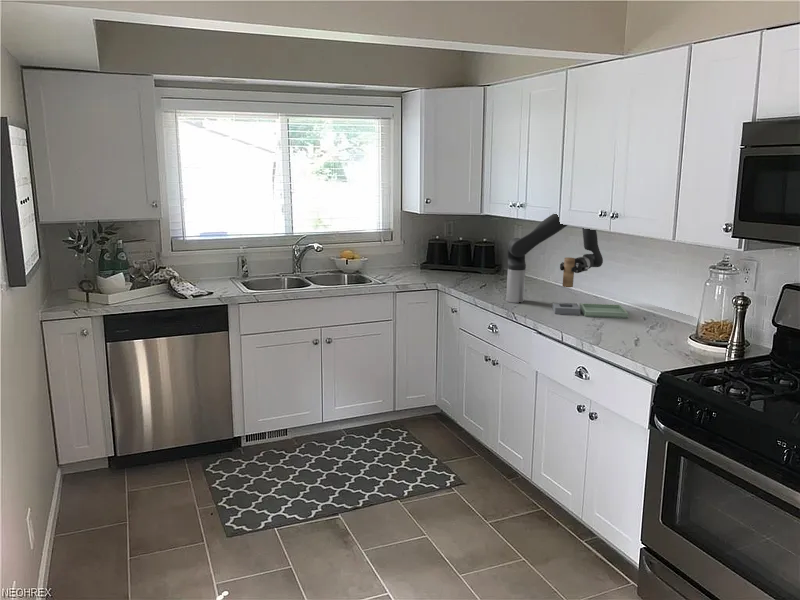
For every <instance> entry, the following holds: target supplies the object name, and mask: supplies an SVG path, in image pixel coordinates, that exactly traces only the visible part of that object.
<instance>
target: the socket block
mask: <svg viewBox="0 0 800 600" xmlns="http://www.w3.org/2000/svg"><path fill="white" fill-rule="evenodd" d="M551 308H552V311H553V313H554V315H571V316H572V315H573V316H574V315H575V316H576V315H577V316H580V315H581V309H580V305H579V304H578V303H575V302H573V303H572V302H552V307H551Z"/></svg>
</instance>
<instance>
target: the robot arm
mask: <svg viewBox="0 0 800 600" xmlns="http://www.w3.org/2000/svg"><path fill="white" fill-rule="evenodd" d="M567 226H568V225H563V224H560V222H559V217H558V215H557V214H554V213H552V214H551V215H550V216H547V217H546V218H545V219H544V220H542V221H541V222H540V223H539V224H538V225H537V226H536V227H535V228H534V229H532V231H531V232H529V233H528V234H526V235H525V236H523V237H521V238H519V237H514V238H512V239H510V241H509V242H508V244H507V245H508V246H507V255H506V256H507V258H506V259H507V262H506V263H507V277H506V296H505V297H506V298H505V300H506V302H508V303H514V304H515V303H516V304H517V303H519V302H521V303H524V302H523V301H525V288H526V287H525V285H526V268H527V265H526V255H527V254H528V253H529V252H531V251H532V250H533V249H534V248H535V247H537V246H538V245H539V244H541V243H543V242H544V241H546V240H548V239H550V238H551V237H553V236H555V234H557V233H558V232H560V231H562V230H563V229H564V228H566V227H567ZM582 238H583V248H584V250H586V251H590V252H592V253H584V254H582V256H579V257H574V258H575V266H574V267H572V272H574V274H581V273H582V272H587V271H588V270H589V269H591V268H600V267H601V266H602V265H603V262H604V258H603V255H602V253H601V250H600V247H599V244H598V243H599V242H598V233H597V229H596V230H590V229H584V228H582ZM559 270H560V271H563V272H564V262H561V263H560V264H559ZM519 304H520V303H519Z"/></svg>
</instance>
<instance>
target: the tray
mask: <svg viewBox="0 0 800 600" xmlns="http://www.w3.org/2000/svg"><path fill="white" fill-rule="evenodd" d="M579 307H580V309H581V310H580V312H582V314H583V315H584V317H586V318H606V319H607V318H610V319H629V312H628V311H627V310H626V309H625V308H624V306H623V305H621V304H609V303H603V304H602V303H587V302H586V303H583V302H580V303H579Z"/></svg>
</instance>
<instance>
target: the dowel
mask: <svg viewBox="0 0 800 600" xmlns="http://www.w3.org/2000/svg"><path fill="white" fill-rule="evenodd" d="M575 258H576V257H570V256H569V257H564V259H563V261H564V270H563V273H562V274H563V275H562V287H563V288H573V287H574V279H575V278H574V277H575V272H572V267H574V266H575Z"/></svg>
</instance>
